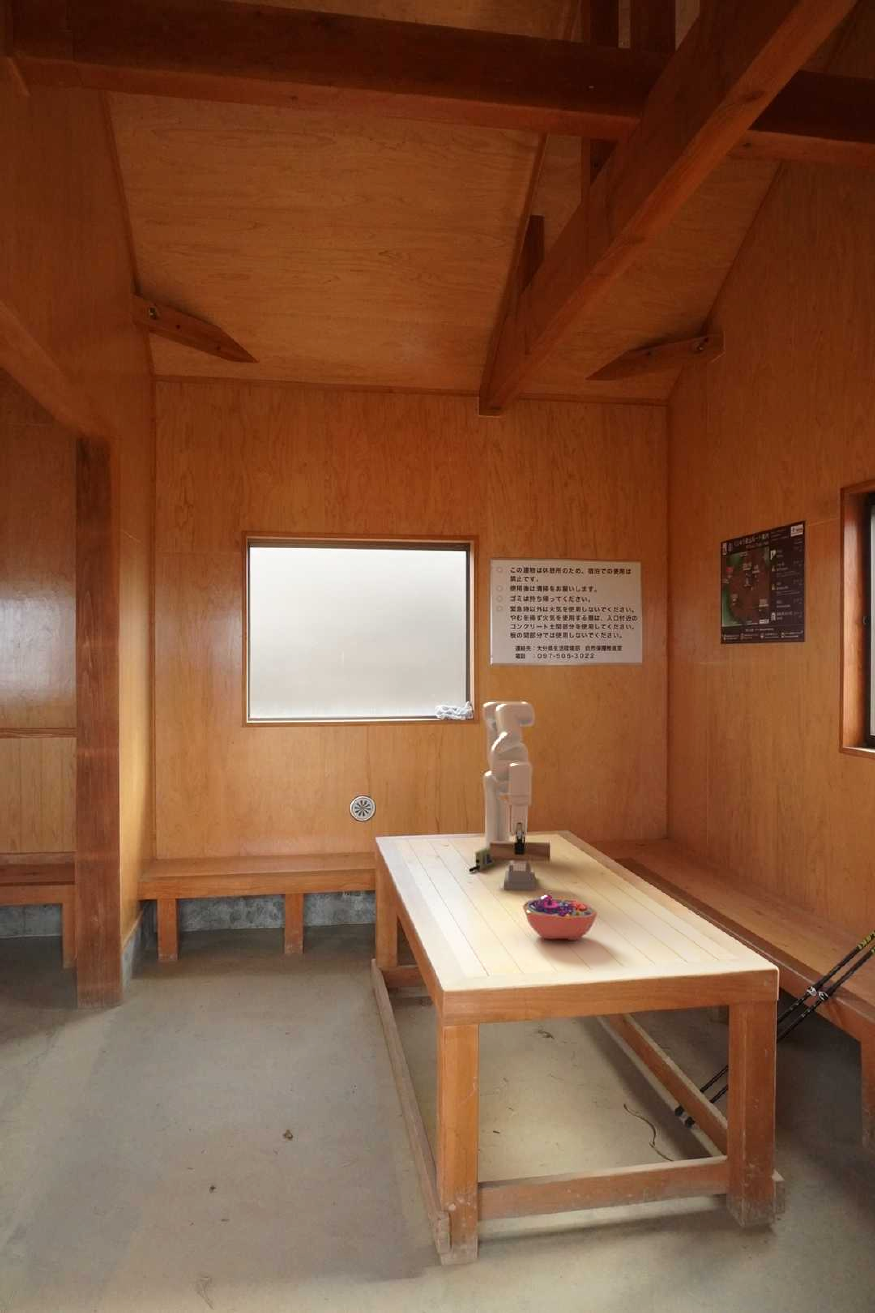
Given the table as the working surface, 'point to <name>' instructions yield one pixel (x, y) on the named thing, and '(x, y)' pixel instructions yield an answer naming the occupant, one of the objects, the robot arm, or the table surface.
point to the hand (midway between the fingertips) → (519, 851)
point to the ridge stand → (519, 876)
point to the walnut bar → (531, 853)
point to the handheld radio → (483, 859)
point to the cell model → (559, 917)
